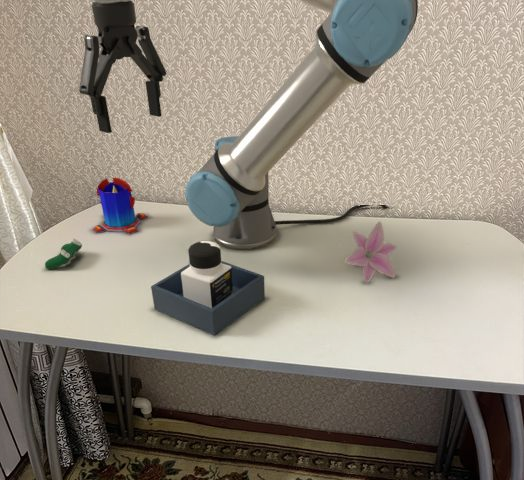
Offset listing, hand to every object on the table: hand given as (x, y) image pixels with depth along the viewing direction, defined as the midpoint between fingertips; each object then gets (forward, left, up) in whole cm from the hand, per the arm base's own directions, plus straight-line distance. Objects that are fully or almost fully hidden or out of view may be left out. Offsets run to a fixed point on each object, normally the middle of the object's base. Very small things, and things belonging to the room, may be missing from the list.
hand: (131, 123), depth 114 cm
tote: (0, +28, -29) cm, 40 cm away
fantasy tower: (0, -19, -29) cm, 35 cm away
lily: (-34, +37, -29) cm, 58 cm away
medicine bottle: (0, +28, -28) cm, 40 cm away
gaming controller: (+18, -7, -29) cm, 35 cm away
